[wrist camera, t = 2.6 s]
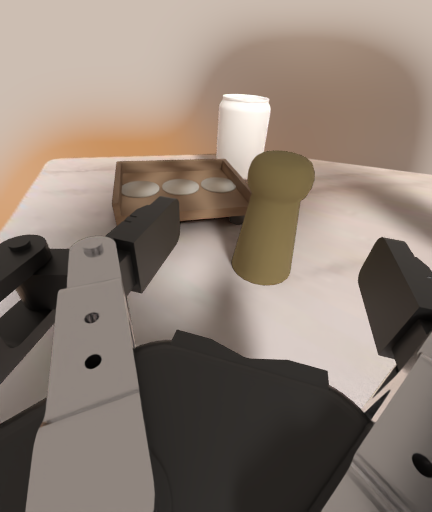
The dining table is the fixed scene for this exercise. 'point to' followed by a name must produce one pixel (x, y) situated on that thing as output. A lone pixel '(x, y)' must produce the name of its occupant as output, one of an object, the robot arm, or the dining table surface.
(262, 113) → the beverage can
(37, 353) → the dining table surface
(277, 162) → the olive pawn figure
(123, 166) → the wooden tray
